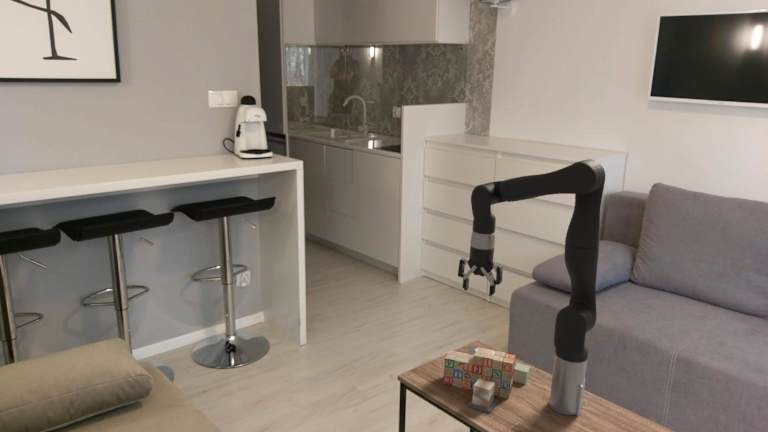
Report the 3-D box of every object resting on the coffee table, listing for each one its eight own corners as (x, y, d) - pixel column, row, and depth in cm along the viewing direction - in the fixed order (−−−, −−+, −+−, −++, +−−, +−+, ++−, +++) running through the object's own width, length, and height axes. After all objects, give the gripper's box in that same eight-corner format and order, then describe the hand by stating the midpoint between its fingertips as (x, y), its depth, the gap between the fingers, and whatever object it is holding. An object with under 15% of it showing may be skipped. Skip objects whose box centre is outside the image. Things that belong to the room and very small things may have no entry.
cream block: (493, 400, 179) (495, 382, 178) (487, 408, 175) (489, 390, 173) (477, 395, 181) (479, 378, 180) (472, 403, 177) (473, 385, 176)
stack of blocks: (442, 384, 189) (445, 349, 186) (447, 375, 195) (450, 341, 192) (509, 399, 182) (512, 363, 179) (512, 389, 187) (516, 354, 184)
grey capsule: (480, 363, 203) (482, 348, 201) (476, 368, 199) (478, 352, 198) (469, 360, 205) (471, 345, 203) (465, 365, 201) (466, 349, 200)
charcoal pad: (497, 402, 180) (497, 399, 179) (489, 413, 174) (490, 410, 173) (475, 395, 183) (475, 393, 183) (467, 406, 177) (467, 403, 177)
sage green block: (529, 378, 194) (530, 366, 193) (525, 384, 191) (527, 372, 189) (516, 375, 196) (517, 362, 195) (512, 381, 193) (513, 368, 191)
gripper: (507, 246, 187) (503, 293, 191) (465, 238, 194) (462, 284, 198) (500, 251, 181) (495, 300, 185) (457, 243, 187) (453, 291, 191)
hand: (478, 292), depth 191 cm, fingers open, 8 cm apart
